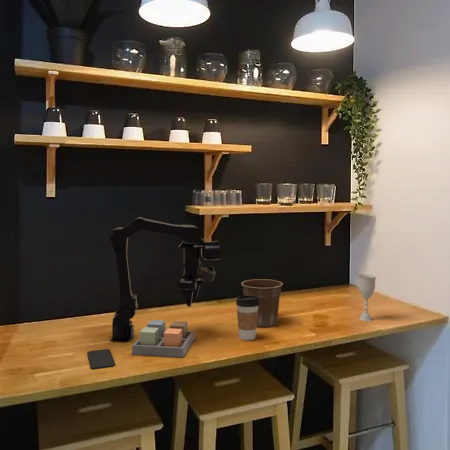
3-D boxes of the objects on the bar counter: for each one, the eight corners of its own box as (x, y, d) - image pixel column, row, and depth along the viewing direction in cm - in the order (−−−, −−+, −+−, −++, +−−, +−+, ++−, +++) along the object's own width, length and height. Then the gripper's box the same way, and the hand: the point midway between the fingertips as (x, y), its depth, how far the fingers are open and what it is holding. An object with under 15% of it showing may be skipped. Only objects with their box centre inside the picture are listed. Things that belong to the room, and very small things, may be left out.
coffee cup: (252, 343, 160) (252, 301, 158) (231, 338, 164) (231, 297, 163) (263, 336, 167) (263, 295, 166) (242, 332, 172) (243, 292, 170)
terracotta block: (163, 351, 149) (163, 333, 149) (167, 345, 154) (167, 328, 154) (178, 351, 149) (178, 333, 148) (182, 346, 154) (182, 329, 153)
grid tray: (132, 354, 149) (131, 333, 148) (148, 337, 166) (147, 318, 165) (183, 357, 147) (183, 336, 146) (194, 339, 163) (194, 320, 163)
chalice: (355, 320, 186) (357, 276, 184) (357, 316, 192) (358, 273, 191) (374, 322, 183) (376, 278, 182) (375, 318, 190) (377, 275, 188)
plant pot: (232, 323, 183) (232, 283, 181) (258, 314, 194) (258, 276, 193) (265, 332, 172) (265, 289, 170) (290, 322, 183) (290, 282, 182)
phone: (109, 348, 153) (116, 364, 140) (109, 350, 154) (116, 367, 140) (86, 351, 151) (90, 368, 137) (86, 353, 151) (90, 370, 137)
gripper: (208, 265, 154) (209, 311, 156) (218, 256, 173) (218, 297, 174) (176, 264, 156) (177, 309, 157) (189, 256, 174) (189, 296, 176)
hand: (192, 303), depth 166 cm, fingers open, 9 cm apart
